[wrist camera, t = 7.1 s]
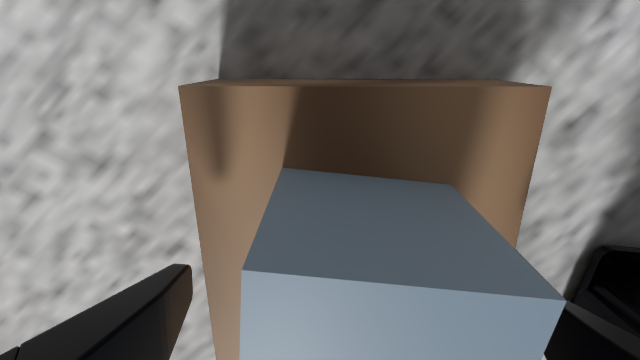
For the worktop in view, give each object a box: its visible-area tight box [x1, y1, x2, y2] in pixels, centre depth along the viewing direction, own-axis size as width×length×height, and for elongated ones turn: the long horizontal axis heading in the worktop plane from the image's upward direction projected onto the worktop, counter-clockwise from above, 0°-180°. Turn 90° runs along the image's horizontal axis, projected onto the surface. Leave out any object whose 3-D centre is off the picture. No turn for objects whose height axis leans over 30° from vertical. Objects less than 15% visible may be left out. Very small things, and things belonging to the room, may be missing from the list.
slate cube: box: [239, 168, 566, 360], centre depth 8 cm, size 5×5×5 cm
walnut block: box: [178, 79, 552, 360], centre depth 12 cm, size 10×10×4 cm
